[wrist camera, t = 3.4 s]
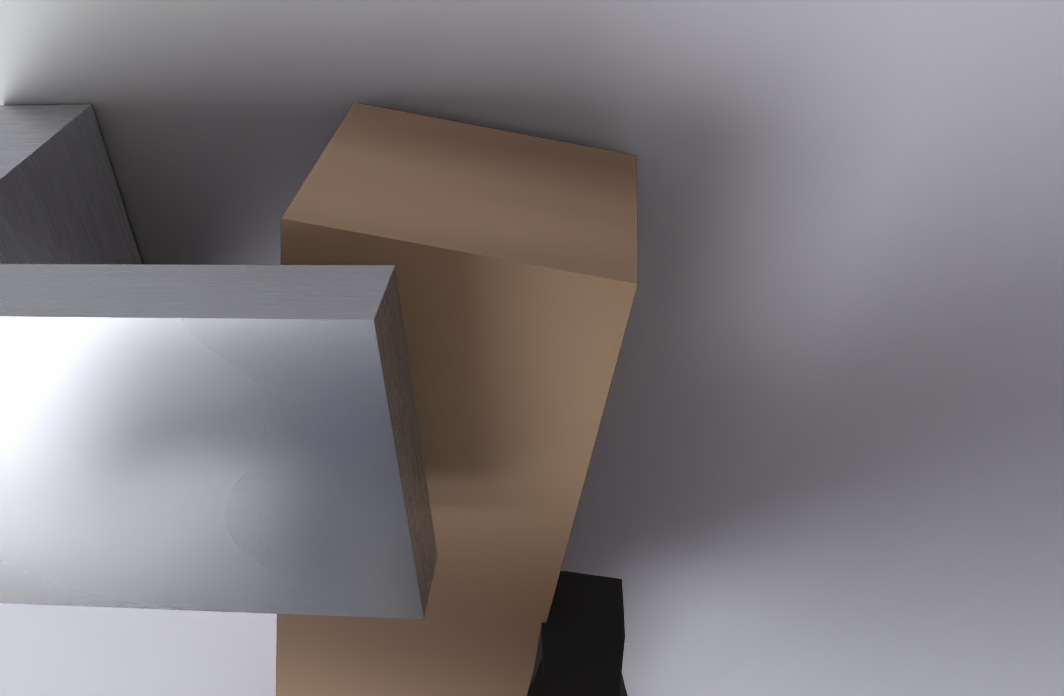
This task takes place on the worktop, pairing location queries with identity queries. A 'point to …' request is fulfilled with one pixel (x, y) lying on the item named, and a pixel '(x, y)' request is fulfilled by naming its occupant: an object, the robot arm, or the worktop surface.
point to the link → (474, 377)
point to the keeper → (193, 412)
